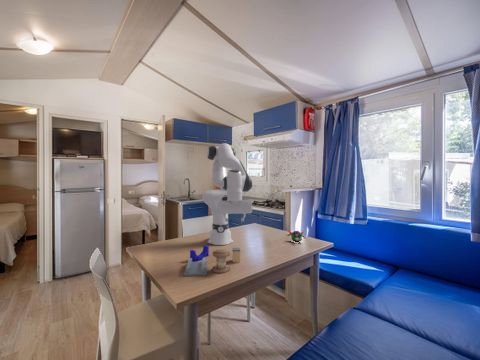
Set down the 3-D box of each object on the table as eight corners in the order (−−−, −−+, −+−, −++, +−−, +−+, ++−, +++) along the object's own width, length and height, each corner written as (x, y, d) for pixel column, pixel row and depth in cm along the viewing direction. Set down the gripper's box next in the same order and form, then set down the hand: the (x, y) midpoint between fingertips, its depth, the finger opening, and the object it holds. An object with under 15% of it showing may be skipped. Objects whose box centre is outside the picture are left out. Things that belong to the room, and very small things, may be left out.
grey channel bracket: (187, 263, 127) (187, 257, 127) (207, 262, 128) (207, 256, 128) (183, 276, 111) (183, 269, 111) (206, 275, 112) (206, 268, 112)
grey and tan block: (232, 260, 133) (232, 247, 133) (239, 259, 134) (239, 247, 133) (232, 262, 129) (232, 250, 129) (240, 262, 129) (240, 249, 129)
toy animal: (300, 247, 158) (301, 233, 158) (284, 242, 170) (284, 229, 170) (310, 244, 165) (310, 231, 165) (294, 239, 177) (294, 227, 177)
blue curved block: (195, 262, 130) (195, 252, 129) (190, 260, 132) (190, 250, 132) (210, 256, 139) (210, 246, 139) (205, 255, 142) (205, 245, 142)
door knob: (212, 266, 123) (212, 250, 123) (229, 265, 124) (229, 249, 124) (212, 273, 114) (212, 255, 114) (230, 272, 115) (230, 255, 115)
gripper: (251, 197, 135) (251, 220, 135) (217, 197, 133) (217, 220, 133) (253, 197, 129) (253, 221, 129) (217, 198, 127) (217, 222, 127)
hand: (234, 221), depth 131 cm, fingers open, 8 cm apart
